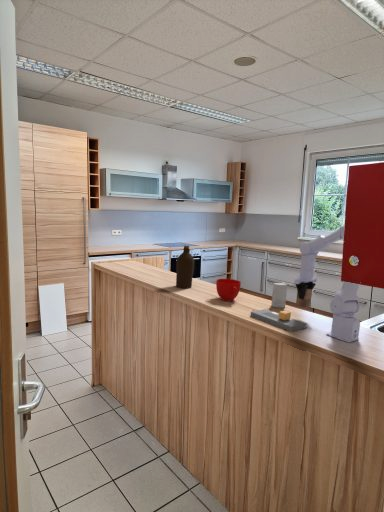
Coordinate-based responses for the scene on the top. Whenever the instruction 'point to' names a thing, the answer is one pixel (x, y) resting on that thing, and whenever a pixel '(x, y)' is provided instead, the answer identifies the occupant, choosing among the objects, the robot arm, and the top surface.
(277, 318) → the switch board
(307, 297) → the walnut pusher
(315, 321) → the top surface
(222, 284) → the ceramic cup
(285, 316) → the switch tab
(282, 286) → the skincare box
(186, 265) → the olive oil
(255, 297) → the top surface
